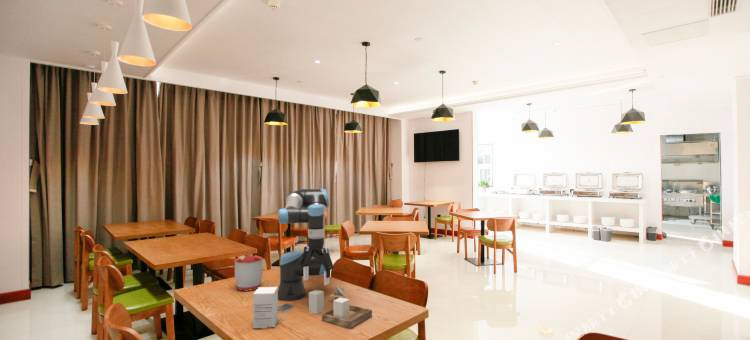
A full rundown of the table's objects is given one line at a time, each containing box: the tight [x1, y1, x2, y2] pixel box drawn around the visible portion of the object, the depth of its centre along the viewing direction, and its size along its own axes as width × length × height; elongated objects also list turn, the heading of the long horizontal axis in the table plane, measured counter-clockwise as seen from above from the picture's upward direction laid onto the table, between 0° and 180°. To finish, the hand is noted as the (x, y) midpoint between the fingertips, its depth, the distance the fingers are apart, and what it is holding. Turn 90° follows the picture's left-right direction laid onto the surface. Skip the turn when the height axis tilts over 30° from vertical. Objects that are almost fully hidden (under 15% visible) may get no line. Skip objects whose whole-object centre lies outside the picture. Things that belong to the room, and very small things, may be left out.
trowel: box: [278, 303, 295, 313], centre depth 166 cm, size 16×6×2 cm, turn 146°
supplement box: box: [252, 286, 279, 329], centre depth 152 cm, size 9×9×15 cm
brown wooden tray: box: [321, 303, 373, 330], centre depth 158 cm, size 16×16×3 cm
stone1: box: [332, 297, 350, 320], centre depth 154 cm, size 5×5×9 cm
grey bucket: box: [233, 253, 263, 291], centre depth 203 cm, size 16×17×20 cm
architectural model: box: [329, 286, 346, 300], centre depth 179 cm, size 3×7×7 cm, turn 71°
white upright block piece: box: [308, 289, 325, 315], centre depth 167 cm, size 5×5×9 cm
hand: (316, 282), depth 167 cm, fingers open, 13 cm apart
